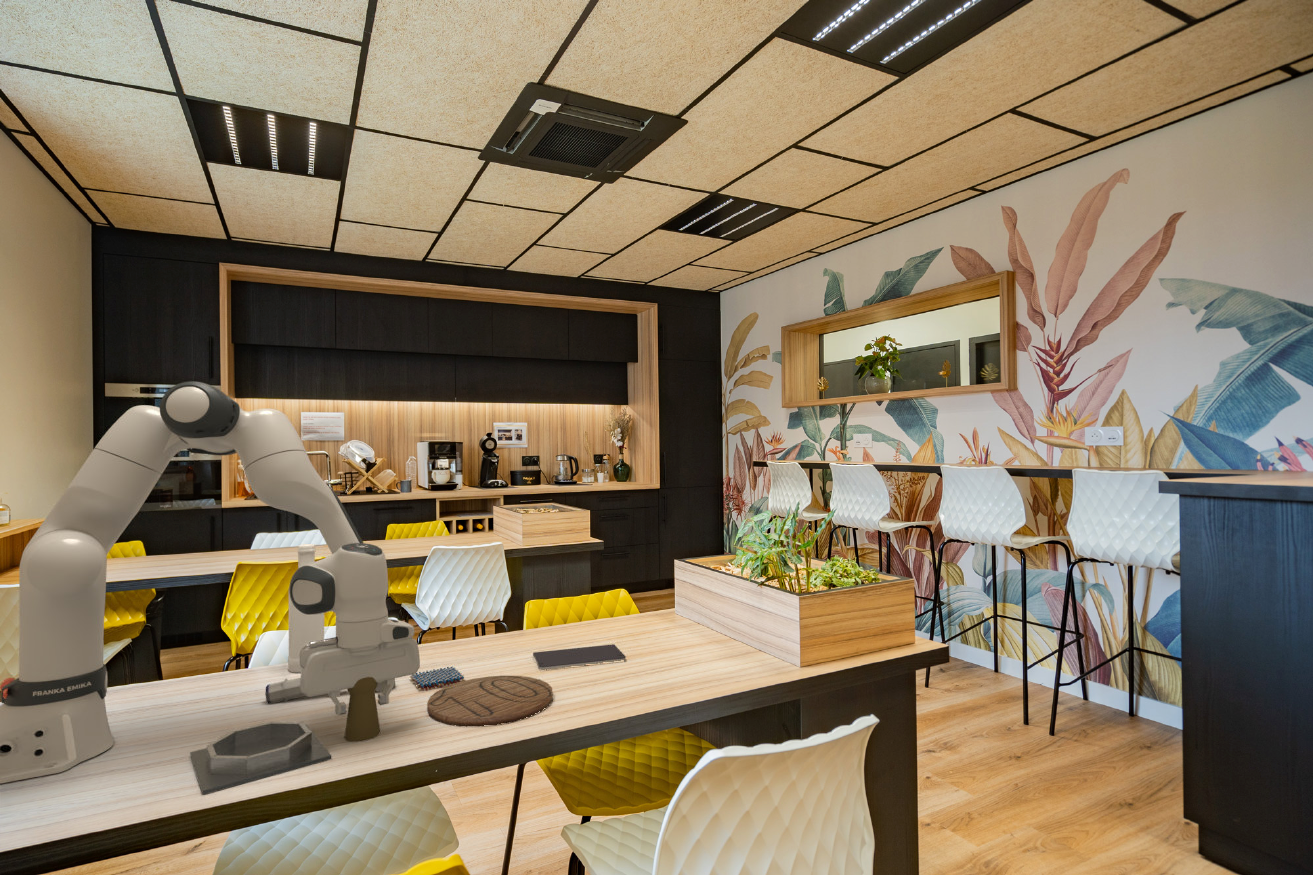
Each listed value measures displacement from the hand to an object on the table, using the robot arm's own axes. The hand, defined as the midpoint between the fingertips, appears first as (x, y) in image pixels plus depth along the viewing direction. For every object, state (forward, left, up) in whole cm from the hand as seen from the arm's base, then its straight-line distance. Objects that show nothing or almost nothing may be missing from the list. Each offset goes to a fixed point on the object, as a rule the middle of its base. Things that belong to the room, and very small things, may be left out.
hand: (362, 708), depth 122 cm
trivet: (+25, -1, -5) cm, 26 cm away
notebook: (+55, +12, -5) cm, 57 cm away
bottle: (+2, +52, -5) cm, 52 cm away
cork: (0, 0, -5) cm, 5 cm away
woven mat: (+22, +20, -5) cm, 30 cm away
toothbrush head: (+2, +27, -5) cm, 28 cm away
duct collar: (-16, +2, -5) cm, 17 cm away
